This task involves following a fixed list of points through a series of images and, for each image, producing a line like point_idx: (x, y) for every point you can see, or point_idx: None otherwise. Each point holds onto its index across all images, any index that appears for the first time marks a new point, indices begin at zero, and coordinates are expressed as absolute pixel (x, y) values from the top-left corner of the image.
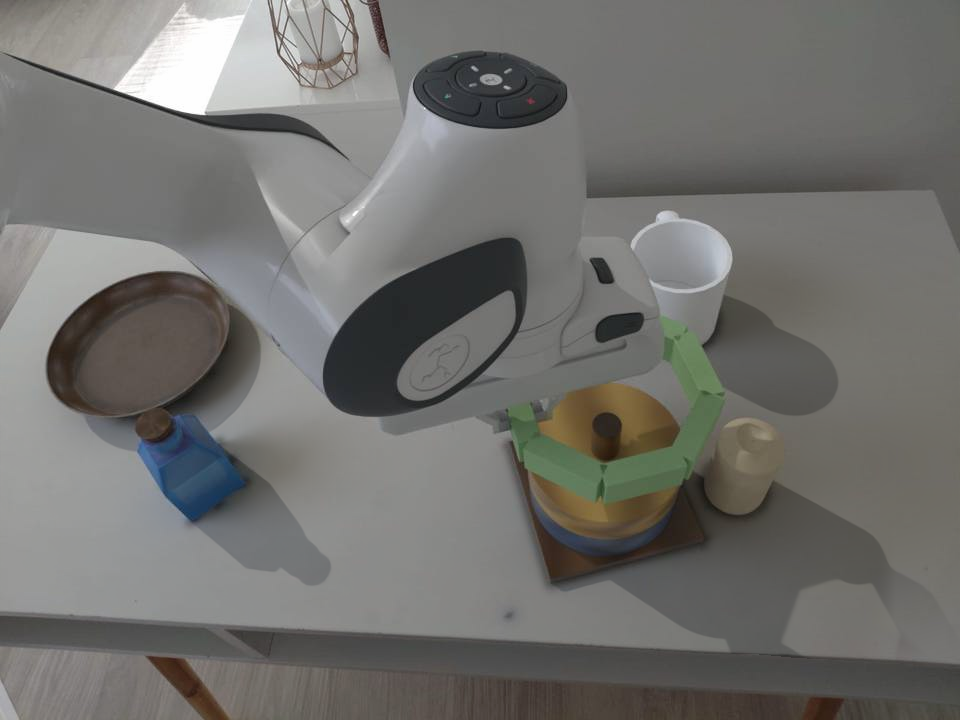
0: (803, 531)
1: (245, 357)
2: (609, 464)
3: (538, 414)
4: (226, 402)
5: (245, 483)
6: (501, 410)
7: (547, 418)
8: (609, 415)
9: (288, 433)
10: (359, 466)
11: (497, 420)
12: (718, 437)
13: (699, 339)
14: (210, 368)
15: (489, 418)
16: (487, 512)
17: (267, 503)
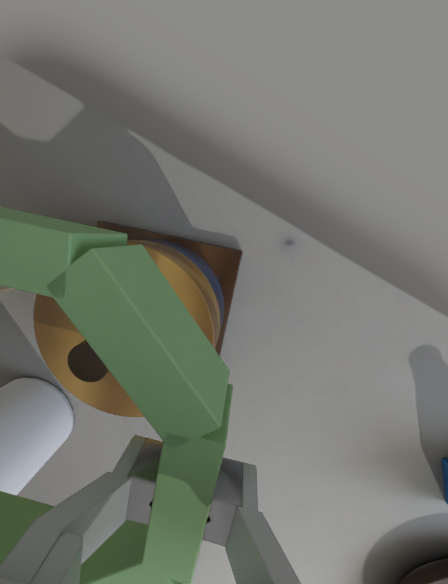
0: (21, 190)
1: (383, 557)
2: (39, 287)
3: (148, 474)
4: (419, 530)
5: (443, 460)
6: (220, 526)
7: (140, 445)
8: (78, 373)
9: (383, 480)
10: (342, 424)
11: (243, 521)
12: (2, 286)
13: (15, 384)
14: (431, 579)
15: (265, 556)
16: (260, 334)
17: (433, 434)
